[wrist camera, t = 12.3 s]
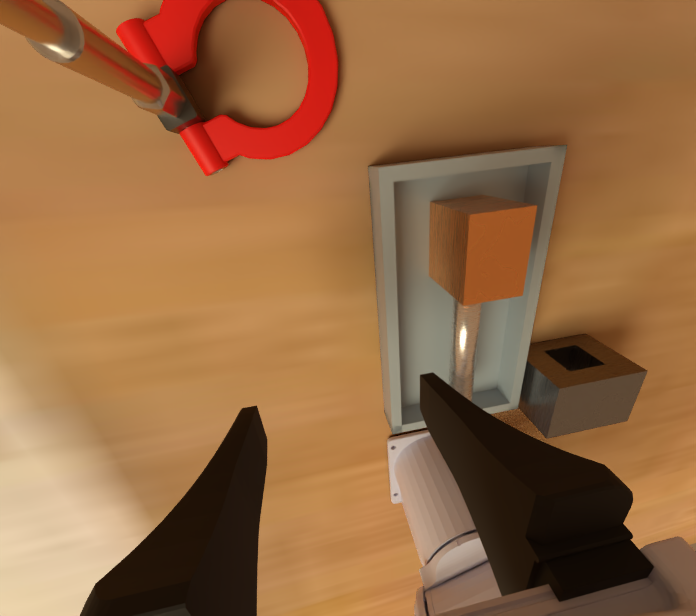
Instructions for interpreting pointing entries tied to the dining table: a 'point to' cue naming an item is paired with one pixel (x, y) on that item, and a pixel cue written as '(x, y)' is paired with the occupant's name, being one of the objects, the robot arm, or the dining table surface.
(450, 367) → the hitch pin
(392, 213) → the tray
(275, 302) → the dining table surface
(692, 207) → the dining table surface
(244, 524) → the robot arm
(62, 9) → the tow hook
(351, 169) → the dining table surface
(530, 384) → the block
